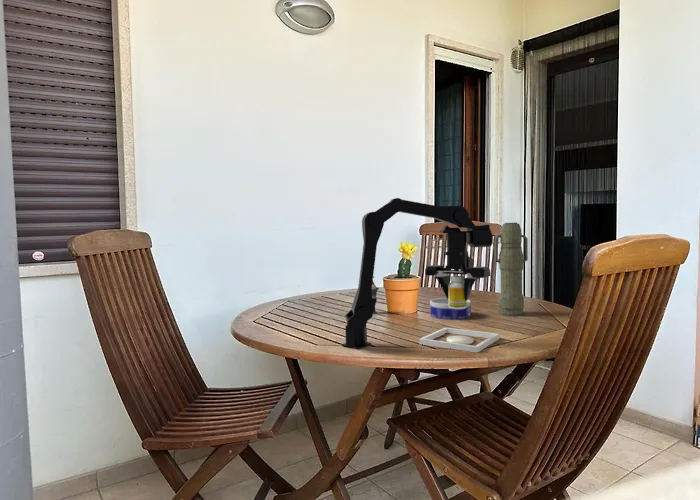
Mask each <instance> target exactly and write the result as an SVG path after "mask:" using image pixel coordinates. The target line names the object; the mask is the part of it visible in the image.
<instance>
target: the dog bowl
mask: <svg viewBox="0 0 700 500" xmlns="http://www.w3.org/2000/svg"><path fill="white" fill-rule="evenodd" d="M429 308H430V309H429V310H430V311H429V312H430V317H431V318H435V319H438V318H439V320H448V319H449V320H452V321H453V320H465V319H466V320H467V319H469V318H470V317H471V312H472V309H471V308H472V301H471V300H470V299H468V300H467V307H466V308H465V309H451V308H449V306H448V299H447V297H437V298H433V299H430V301H429Z"/></svg>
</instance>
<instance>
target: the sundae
mask: <svg viewBox="0 0 700 500" xmlns="http://www.w3.org/2000/svg"><path fill="white" fill-rule="evenodd" d="M373 278H375V276H374V275H373ZM378 290H380V288H379V287H378V286H377V285H376V283H375V282H374V281H373V282H372V296H375V297H376V298H377V293H378ZM377 313H378V312H377V311H376V312H374V311H373V315H374V314H377Z"/></svg>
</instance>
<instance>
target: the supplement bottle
mask: <svg viewBox="0 0 700 500" xmlns="http://www.w3.org/2000/svg"><path fill="white" fill-rule="evenodd" d="M464 276H465V275H464ZM464 276H463V275H450V280H449V281H450V282H449V285H448V306H449V308H451V309H465V308H466V307H467V301H465V296H464V278H465V277H464Z"/></svg>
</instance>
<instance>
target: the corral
mask: <svg viewBox="0 0 700 500" xmlns="http://www.w3.org/2000/svg"><path fill="white" fill-rule="evenodd" d="M445 333H446V334H453V335H458V336H468V337H476V338H477V337H478V338H484V339H485V340H483V341H481V342H479V343H477V344H476V345H471V344H467V345H465V344H458V343H451V342H447V341H441V340H435V339H436V338H438V337H441V336H444V335H445ZM500 335H501V334H500V333H496V332H488V331H478V330H468V329H461V328H454V327H453V328H452V327H443V328H440V329H439V330H437V331H434V332H431V333H429V334H427V335H425V336H423V337H420V338H419V339H418V344H419V345H422V344H423V345H424V346H430V347H437V348H444V349H445V348H446V349H450V348H451V349H452V350H456V351H457V350H458V351H464V352H472V353H479V352H481V351H482V350H484V349H485V348H487V347H490V346H491V345H492V344H494V343H495V342H497V341H498V340H499V339H500V338H501V337H500ZM423 345H422V346H423ZM451 349H450V350H451Z"/></svg>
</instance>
